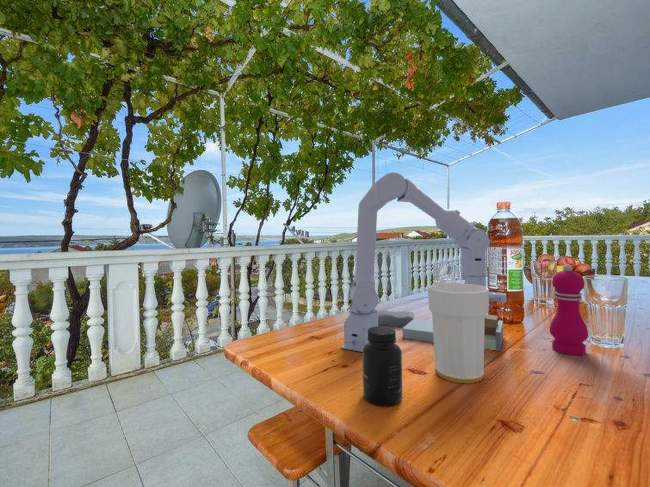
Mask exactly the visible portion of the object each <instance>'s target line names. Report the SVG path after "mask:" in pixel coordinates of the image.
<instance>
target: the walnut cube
mask: <svg viewBox="0 0 650 487" xmlns="http://www.w3.org/2000/svg"><path fill="white" fill-rule="evenodd" d="M498 318H499V317H498V315H492V314H486V315H485V323H484V334H485V335H493V336H496V329H497V325H498V321H499V319H498Z"/></svg>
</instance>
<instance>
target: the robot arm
mask: <svg viewBox="0 0 650 487" xmlns="http://www.w3.org/2000/svg"><path fill="white" fill-rule="evenodd" d="M396 199H397V200H396ZM394 200H396V202H399V203H400V202H402V203H410V204H412V205H413V206H415V207H416V208H417V209H419V210H421V212H423V213H425V214H426V215H428V216H429V217H430V218H432V219H434V221H435V226H436V228H438V229H439V230H440V231H441V232H443V234H445V235H447V236H448V237H449V238H451V239H452V240H453V241H455V242H456V244H457V246H458V247H459V248H460V251H461V252H460V255H461V256H460V260H461V261H460V264H461V267H460V268H461V269H460V270H461V281H462V280H465V283H464V284H474V285H480V286H484V287H487V285H486V284H487V272H486V271H487V269H486V268H487V267H486V266H487V263H486V262H487V261H486V256H487V254H486V251H487V249H489V248H488V247H490V244H491V239H490V238H489V236H488V233H487V232H486V231H485V230H484V229H481V228H476V227H475V226H476V224H475V223H473V222H469V221H468V220H467V219H465V218H464V217H463V216H462V215H461V212H460V211H459V210H458V209H455V210H454V209H452V208H448V209H444V207H441V206H440V205H439V204H438V203H437V202H435V201H434V200H433V199H432V198H431V197H429V196H428V195H427V194H426V193H424V191H422V190H421V189H420V188H419V187H418V186H416V184H414V183H413V182H412V181H411V180H410V179H408V178H405V177H404V176H403V175H402V174H400V173H399V172H389V173H386V174H385V175H383V176H382V177H380V178H379V179H378V180H377V181H375V183H374V184H372V185H371V186H370V188H369V189H368V191H367V192H366V193H365V195H364V196H363V197H362V199H361V200H360V201H359V203H358V212H357V227H356V228H357V231H356V232H357V233H356V234H357V235H356V247H355V248H356V249H355V250H356V252H355V269H354V270H355V273H354V276H353V282H352V285H351V287H350V289H349V298H350V300H351V302H352V303H351V305H350V306H349V309H348V310H349V311H348V314H349V315H348V316H347V317H346V318H345V320H344V323H343V337H344V338H343V339H344V342H343V343H344V344H342V345H341V349H343V350H350V351H355V352H361V353H362V350H363V347H364V346H365V345H366V344H367V343H369V342H368V340H367V337H368V329H369V328H372V327H377V326H378V311H379V309H378V307H377V306H378V303H379V296H378V293H377V291H376V282H375V281H376V280H375V262H376V261H375V260H376V242H377V241H376V238H377V220H378V212H379V211H380V210H381V209H382V208H383V207H384V206H386V205H387V203H390V202H392V201H394ZM489 302H500V303H505V304H506V303H507V293H504V292H503V293H502V292H494V291H489Z"/></svg>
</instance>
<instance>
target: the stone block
mask: <svg viewBox="0 0 650 487" xmlns="http://www.w3.org/2000/svg"><path fill="white" fill-rule="evenodd" d="M413 319H416V318H415V314H414V311H413V312H412V311H391V310H385V309H378V326H384V327H402V328H404V327H405V326H406V325H407V324H408V323H409V322H411V321H412V320H413Z"/></svg>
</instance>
